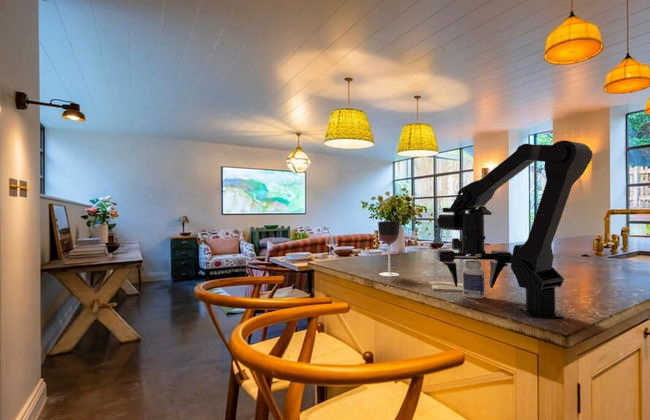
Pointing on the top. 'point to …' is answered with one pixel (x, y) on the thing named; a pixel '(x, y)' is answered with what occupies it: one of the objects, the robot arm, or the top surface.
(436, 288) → the coaster
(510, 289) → the top surface
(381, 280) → the top surface
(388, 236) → the wineglass
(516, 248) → the robot arm
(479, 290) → the pill bottle
